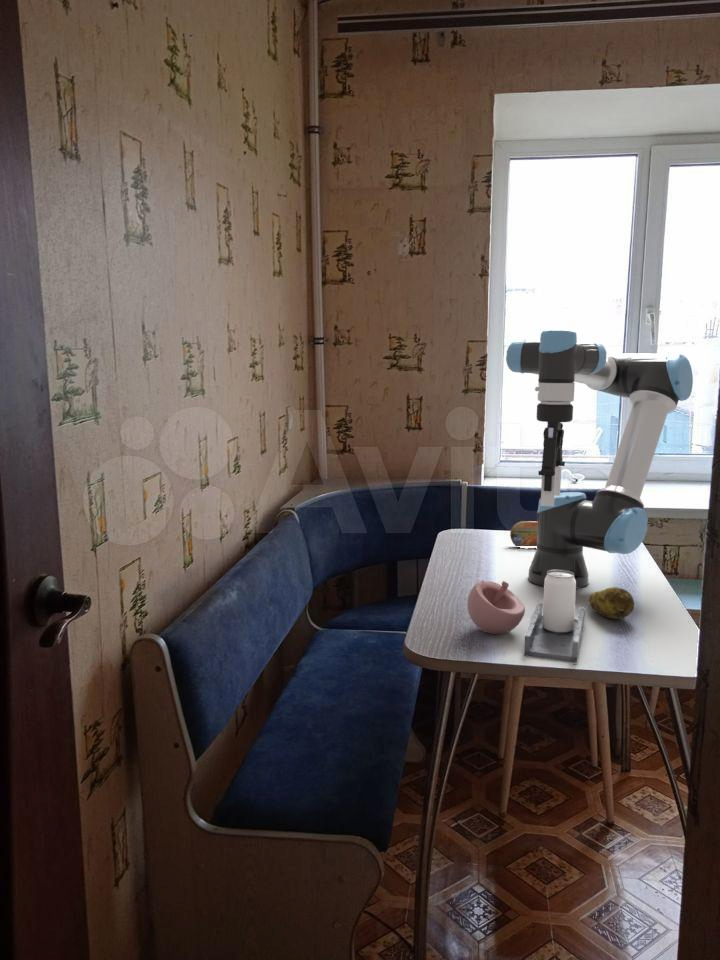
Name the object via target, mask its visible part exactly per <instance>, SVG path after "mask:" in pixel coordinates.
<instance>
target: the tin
mask: <svg viewBox="0 0 720 960" xmlns="http://www.w3.org/2000/svg"><path fill="white" fill-rule="evenodd" d="M537 522H538V520H537V521H531V520H528V521H527V520H526V521H525V520H524V521H523V520H521V521H519V522H517V523H515V524H514V525H513V526H512V527H511V530H510V533H509V534H510V535H509V537H510V539H511V542H512V543H513V545H514V546H515V547H516V546H537Z"/></svg>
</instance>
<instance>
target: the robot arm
mask: <svg viewBox="0 0 720 960" xmlns="http://www.w3.org/2000/svg"><path fill="white" fill-rule="evenodd" d="M505 361H506V366H507V367H508V369H509V370H510V371H512V372H514V373H520V374H534V375H538V384H537V385H538V386H535V388H534V391H535V392H537V401H538V402H539V403H538V404H537V405H536V420H537V421H539V422H546V423H547V426H546V427H545V428H544V430H543V433H542V434H543V443H542V444H543V445H542V446H543V449H542V450H543V451H542V460H541V461H542V462H541V469H540V470H538V476H541V484H540V485H541V490H540V492H541V493H540V498H539V501H538V508H537V511H536V512H537V521H538V522H537V549H535V553H534V556H533V558H532V560H531V563H530V567H529V569H528V580H529V581H530V582H531V583H533V584H535V585H537V586H542V587H544V580H545V577H546V576H547V572H548V571H550V570H565V571H570V572H572V573H574V578H575V580H576V589H579V588H584V587H585V586H587V585H588V584H589V571H588V568H587V564H586V561H585V557H584V553H583V552H584V548H588V549H593V550H599V551H601V552H602V551H604V552H607V553H609V554H619V555H629V554H631V553H633V552H634V551H636V550H637V549H638V548H639V547H640V545H641V544H642V543H643V541H644V539H645V537H646V534H647V531H648V523H649V518H648V514H647V512H646V511H645V510H644V508H645V505H644V502H643V501H642V500H641V496H642V493H643V490H644V486H645V484H646V481H647V477H648V474H649V471H650V468H651V466H652V462H653V460H654V456H655V453H656V450H657V448H658V447H657V446H658V444H659V441H660V438H661V434H662V432H663V429H664V425H665V423H666V420H667V416H668V414H671V413H673V412H675V410H676V408H677V406H678V405H679V404H678V403H679V401H680V402H683V401H687V400H688V399H689V398H690V396H691V394H692V391H693V384H694V381H693V380H694V377H693V369H692V366H691V363H690V361H689V359H688V358H687V357H686V355H684V354H681V353H670V352H667V353H635V352H633V353H615V354H607V350H606V347H605V346H604V345H603V344H602V343H601V342H600V341H597V340H593V339H578V336H577V332H576V330H574V329H561V328H559V329H545V330H543V331H541V333H540V339H539V340H531V339H530V340H529V339H528V340H527V339H523V340H514V341H513V342H511V343H510V345H509V346H508V347H507V350H506V356H505ZM575 383H579V384H583V385H586V386H587V388H588V389H591V390H594V391H598V392H603V393H606V394H608V395H613V396H616V397H617V396H618V397H622V398H629V401H630V403H631V404H632V407H631V409H630V413H629V416H628V419H627V422H626V424H625V428H624V430H623V433H622V436H621V439H620V441H619V442H620V443H619V445H618V448H617V451H616V453H615V457H614V460H613V463H612V466H611V469H610V472H609V474H608V478H607V480H606V483H605V486H604V487H603V488H601V489H599V490H597V491H596V494H595V496H594V499H593V500H587V496H586V493H585V492H579V491H569V492H567V491H566V492H565V491H563V492H561V483H562V481H561V480H562V467H565V463H566V462H565V461H564V460H563V444H564V435H565V430H564V429H563V427H564V424H563V423H570V422H571V421H572V420H573V418H574V417H573V416H574V415H573V414H574V405H573V404H571V403H572V402H574V399H575V386H576V385H575Z"/></svg>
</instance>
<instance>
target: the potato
mask: <svg viewBox="0 0 720 960" xmlns="http://www.w3.org/2000/svg"><path fill="white" fill-rule="evenodd" d="M587 602H588V604H589V606H590V608H591V609H592V610H593V611H595V612H596V613H599V614H601V615H603V616H604V617H606V618H608V619H613V620H616V619H618V620H619V619H625V618H626V617H628V616H629V615H630V614H631V613H632V612H633V611H634V608H635V602H634V598H633V595H632V594H631V593H630V592H629V591H628V590H626V589H625V588H620V587H614V586H613V587H607V588H605V589H603V590H600V591H596V592H593V593H590V595H589V596H588V601H587Z"/></svg>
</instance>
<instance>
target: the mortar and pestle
mask: <svg viewBox="0 0 720 960" xmlns="http://www.w3.org/2000/svg"><path fill="white" fill-rule="evenodd" d="M525 607H526V606H525V604H524V603H523V601H522V600H521V599H520V598H519V596H517V595H516V594H514V592H512V591H511V590H510V589H509V582H507V581H505V580H502V582H501V584H499V583H497V582H495V581H491V580H479V581H478V582H477V583H475V584H474V586H473V587H472V588H471V589H470V592H469V594H468V597H467V606H466V608H467V613H468V614H469V617H470V619H471V621H472V623H473V624H475V626H477V628H478V629H480V631H482V632H485V633H488V634H492V635H502V634H506V633H508V632H511V631H512V630H514V629H515V628H516V627H517V626H519V624H520V623H521V621H522V620H523V619H524V615H525V612H526V608H525Z"/></svg>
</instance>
